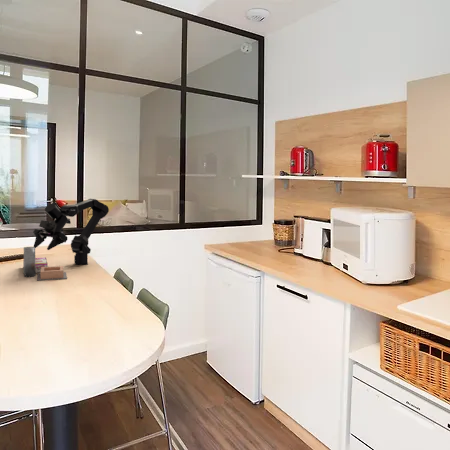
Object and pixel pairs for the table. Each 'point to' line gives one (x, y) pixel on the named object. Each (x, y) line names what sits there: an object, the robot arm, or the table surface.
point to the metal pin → (29, 262)
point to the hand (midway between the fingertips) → (40, 248)
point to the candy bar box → (39, 264)
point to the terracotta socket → (51, 273)
